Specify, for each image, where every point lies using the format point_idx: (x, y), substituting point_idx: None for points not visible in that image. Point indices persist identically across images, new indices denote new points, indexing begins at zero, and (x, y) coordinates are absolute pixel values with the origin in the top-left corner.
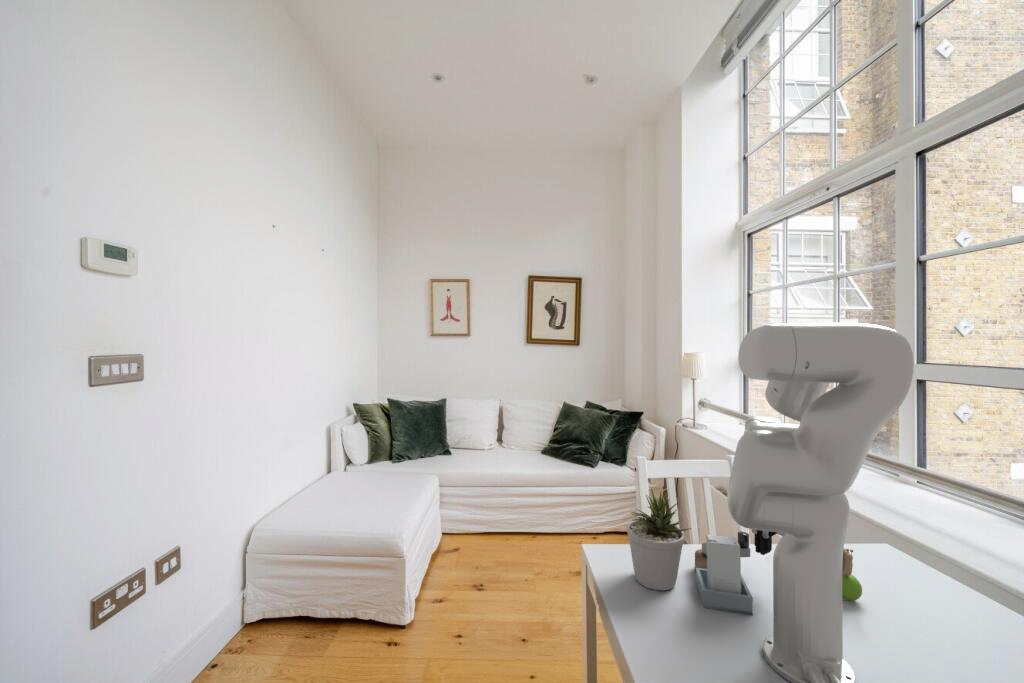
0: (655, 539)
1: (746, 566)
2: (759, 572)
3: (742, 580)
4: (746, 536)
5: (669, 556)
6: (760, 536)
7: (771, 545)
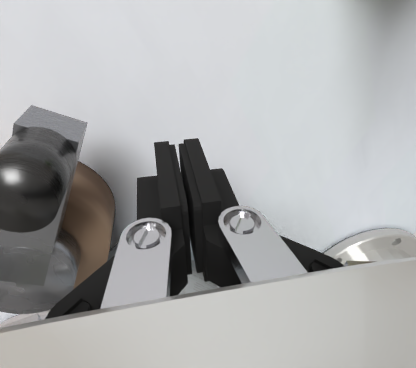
0: None
1: (24, 30)
2: (91, 26)
3: (191, 255)
4: (57, 208)
5: None
6: (191, 263)
7: (227, 181)
